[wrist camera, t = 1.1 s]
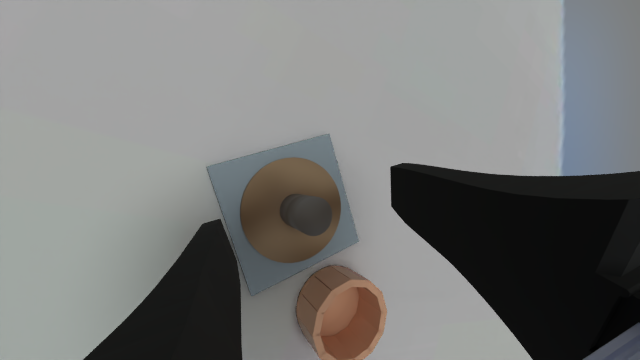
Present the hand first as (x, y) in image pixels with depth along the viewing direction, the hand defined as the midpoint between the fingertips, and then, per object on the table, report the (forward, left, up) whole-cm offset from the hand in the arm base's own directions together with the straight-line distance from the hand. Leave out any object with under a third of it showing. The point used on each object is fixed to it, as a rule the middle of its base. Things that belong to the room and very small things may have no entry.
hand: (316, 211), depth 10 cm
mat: (-2, -3, -12) cm, 13 cm away
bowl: (-12, -4, -12) cm, 18 cm away
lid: (-2, -3, -12) cm, 12 cm away
